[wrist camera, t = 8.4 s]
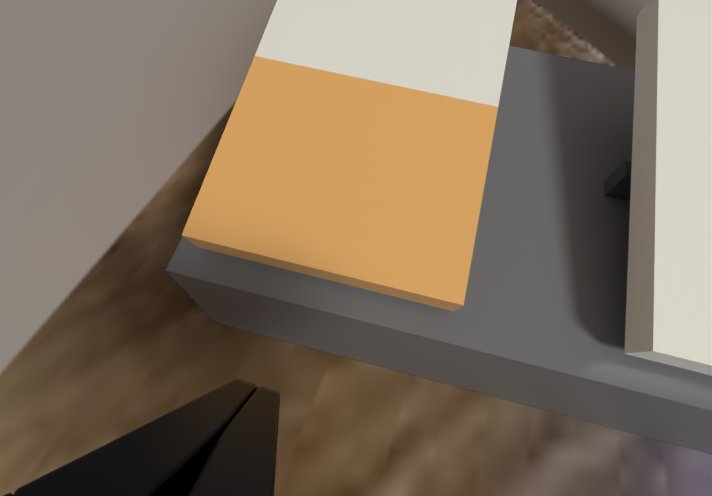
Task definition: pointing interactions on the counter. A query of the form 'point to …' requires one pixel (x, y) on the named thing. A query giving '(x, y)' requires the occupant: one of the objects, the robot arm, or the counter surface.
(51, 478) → the robot arm
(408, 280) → the orange and white panel
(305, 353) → the counter surface
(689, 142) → the rocker plain
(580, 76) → the switch strip
